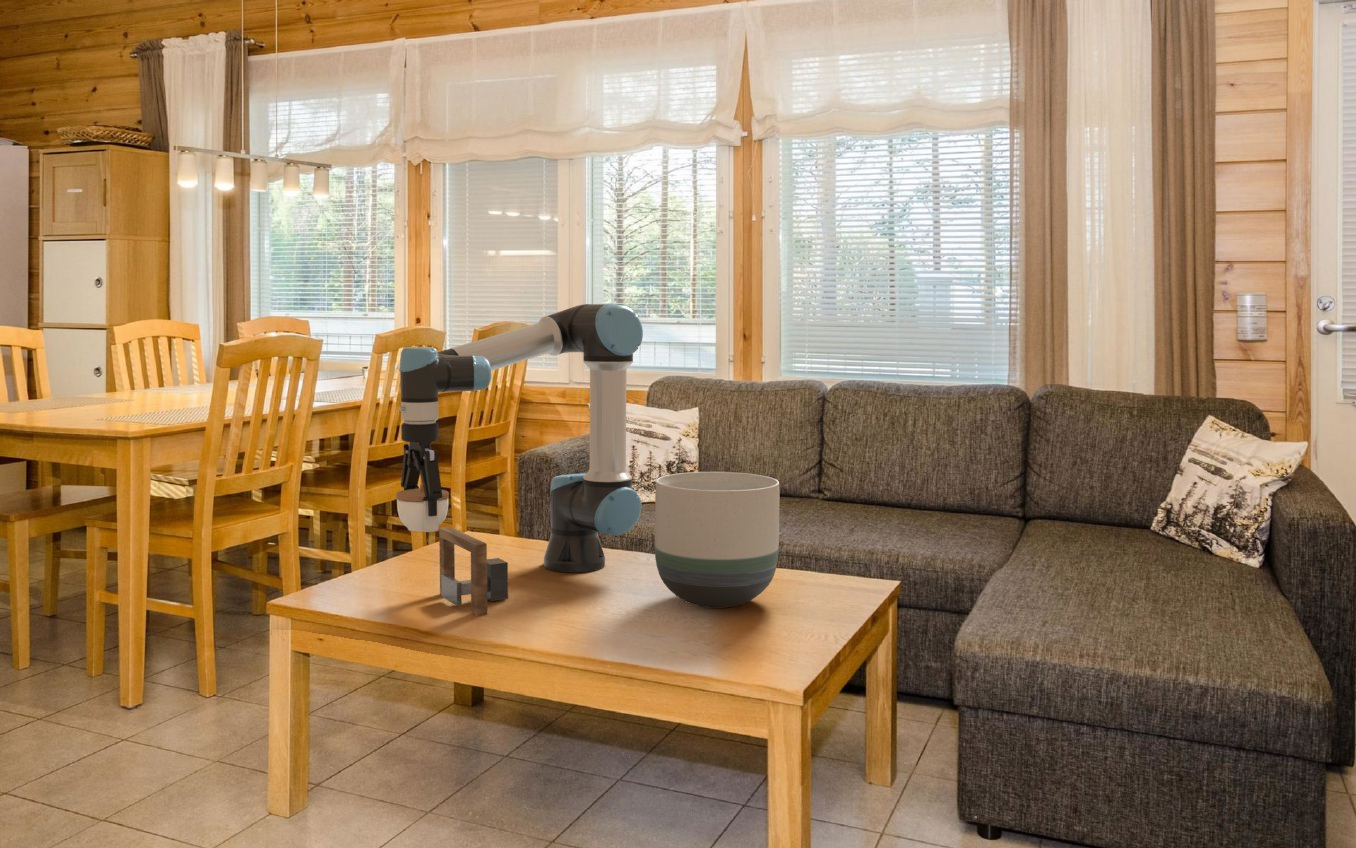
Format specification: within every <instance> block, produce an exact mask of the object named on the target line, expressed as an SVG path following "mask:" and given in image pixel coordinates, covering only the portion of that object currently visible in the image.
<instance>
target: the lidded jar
mask: <svg viewBox="0 0 1356 848" xmlns="http://www.w3.org/2000/svg"><path fill="white" fill-rule="evenodd" d="M419 488H420V489H409V490H404V489H403V490H400V491H398V492H396V496H395V498H396V505H397V506H396V507H397V513H398V517H399V520H400V521H401V523H402V524H403V525H404V526H405V527H406V528H407V530H408V531H409V532H415V533H423V532H424V501H423V500H422V499H423V498H424V497H425V493H424V489H423V484H420V485H419ZM449 497H450V493H449V491H448V490H445V489H442V498H439V500H438V528H440V526H441V525H442V524H443V522H444V521H445V519H446V517H447V515H448V512H449V511H448V509H449ZM424 533H425V532H424Z"/></svg>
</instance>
